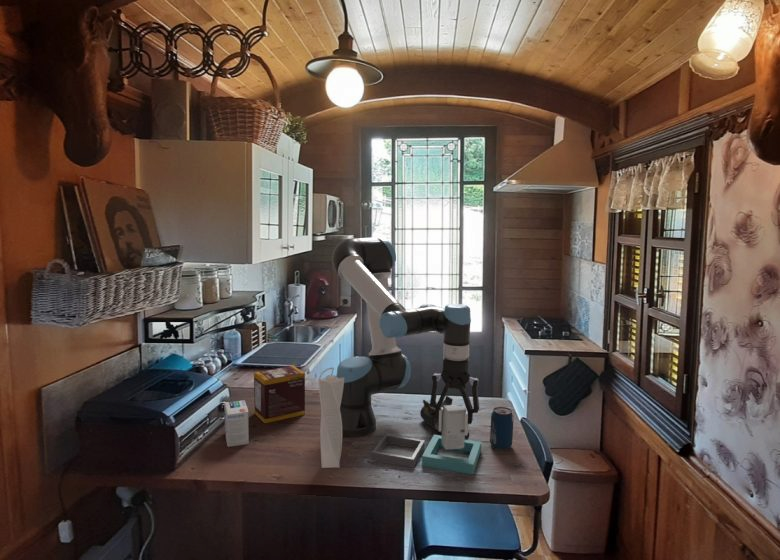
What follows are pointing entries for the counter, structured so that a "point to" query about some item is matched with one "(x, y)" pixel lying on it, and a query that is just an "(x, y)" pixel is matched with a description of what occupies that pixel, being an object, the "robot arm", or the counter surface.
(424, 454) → the teal square frame
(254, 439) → the counter surface
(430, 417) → the laser sight
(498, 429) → the soda can
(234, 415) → the light bulb box
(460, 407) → the skincare box
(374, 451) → the gray picture frame
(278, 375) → the supplement box
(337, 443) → the skyscraper
